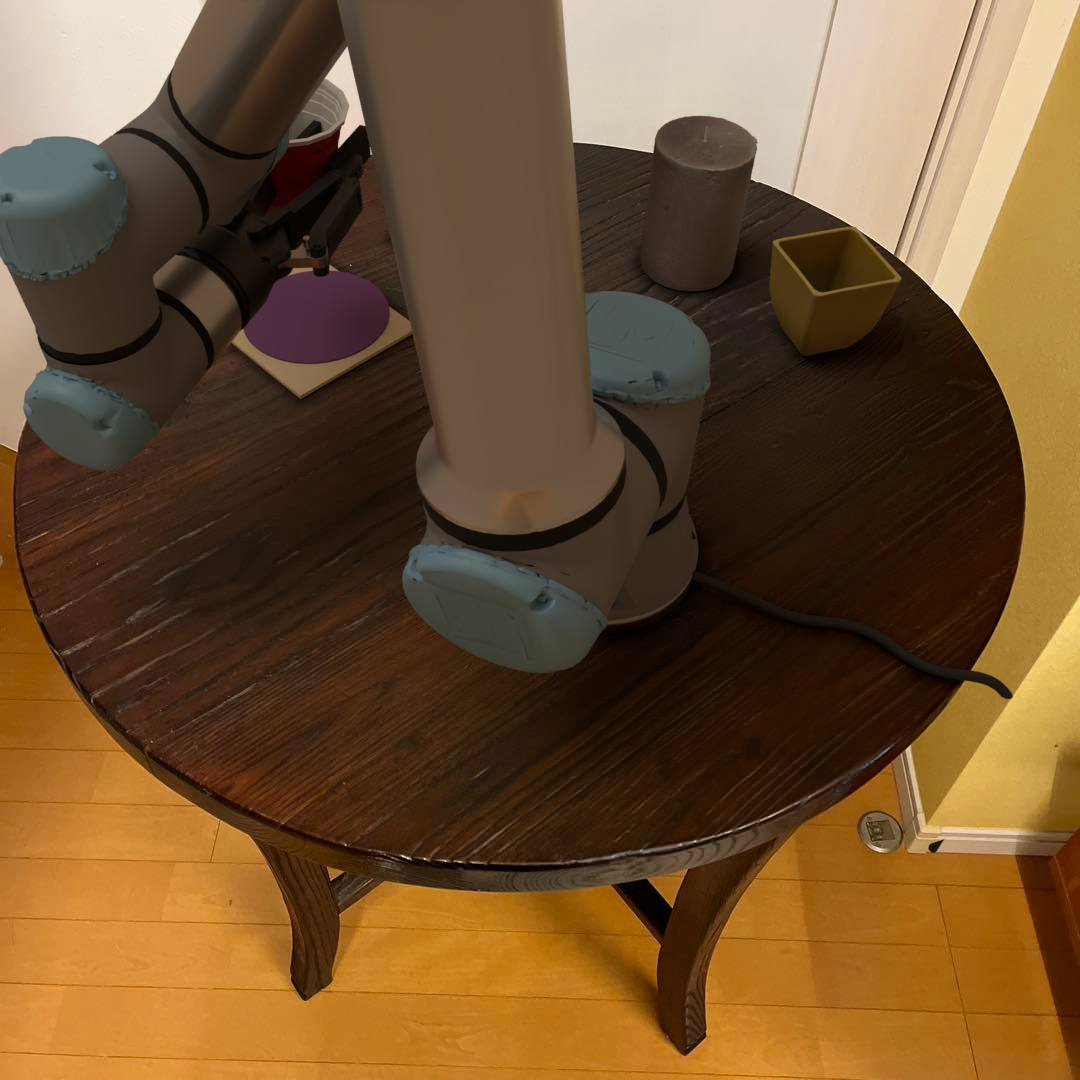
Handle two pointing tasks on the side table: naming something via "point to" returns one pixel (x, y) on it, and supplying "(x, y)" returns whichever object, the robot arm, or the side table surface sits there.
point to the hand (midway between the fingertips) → (344, 136)
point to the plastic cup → (310, 145)
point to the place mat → (320, 328)
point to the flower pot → (829, 288)
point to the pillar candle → (696, 201)
